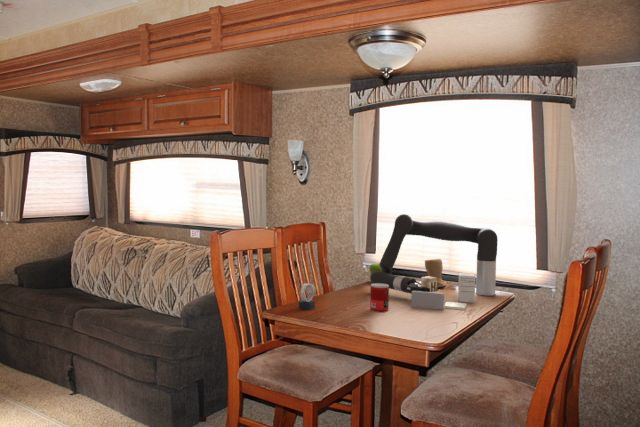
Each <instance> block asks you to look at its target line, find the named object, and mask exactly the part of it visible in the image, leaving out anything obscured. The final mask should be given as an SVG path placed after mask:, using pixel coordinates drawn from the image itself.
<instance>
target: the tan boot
mask: <svg viewBox="0 0 640 427" xmlns="http://www.w3.org/2000/svg"><path fill="white" fill-rule="evenodd" d="M424 268H425V270H426V273H427V276H430V277H436V278H437V287H438V288H441V287H445V286H446V284H447V281H446V280H443V279H442V277H443V276H442V274H443V269H444V267H443V260H442V259H441V258H435V259H434V258H433V259H432V258H431V259H425V260H424Z"/></svg>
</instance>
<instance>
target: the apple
mask: <svg viewBox="0 0 640 427" xmlns="http://www.w3.org/2000/svg"><path fill="white" fill-rule="evenodd" d="M379 264H380V263H374V264H373V263H372V264H371V265H370V266H369V271H370V275H371V274H372V273H373V272H375V271H381V272H382V268H381V267H380V265H379Z"/></svg>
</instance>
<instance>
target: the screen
mask: <svg viewBox="0 0 640 427" xmlns="http://www.w3.org/2000/svg"><path fill="white" fill-rule="evenodd" d="M410 304H411V305H410V307H411V308H421V309H429V310H431V309H432V310H444V309H445V308H444V305H445V293H444V292H436V293H434V292H422V291H412V293H411V303H410Z"/></svg>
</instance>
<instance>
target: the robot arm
mask: <svg viewBox="0 0 640 427" xmlns="http://www.w3.org/2000/svg"><path fill="white" fill-rule="evenodd" d="M391 234H392V235H391V237H390V239H389V242H388V243H387V246H386V248H385V249H384V253H383V255H382V256H381V259H380V261H379V263H378V264H379V265H380V267H381V268H382V272H381V271H375V272H373V273H372V274H371V273H370V276H369V278H370V282H371V284H374V283H382V284H388V285H389V290H395V291H397V292H402V293H405V294H411V295H412V291H422V292H430V288H427V287H422V286H421V281H417V279H416V278H414V277H409V276H403V275H396V274H393V267H394V266H395V263H396V261H397V258H398V256H399V252H400V250H401V247H402V244H403V241H404V239H405V237H406V236H418V237H419V236H420V237H426V238H430V239H435V240H440V241H447V242H448V241H449V242H469V243H473V244H477V252H476V253H477V254H476V277H475V295H479V296H495V295H496V276H497V275H496V274H497V273H496V272H497V255H498V234H497V233H496V232H495V231H494V230H493V229H491V228H485V227H480V228H479V227H469V226H464V225H460V224H457V223H452V222H445V221H426V222H425V221H424V222H422V221H416V220H413V219H412V217H411V216H409V214H403V213H402V214H400V215H399V216H397V217H396V218H395V221H394V226H393V230H392V233H391ZM438 289H439V287H436V292H438Z"/></svg>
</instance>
